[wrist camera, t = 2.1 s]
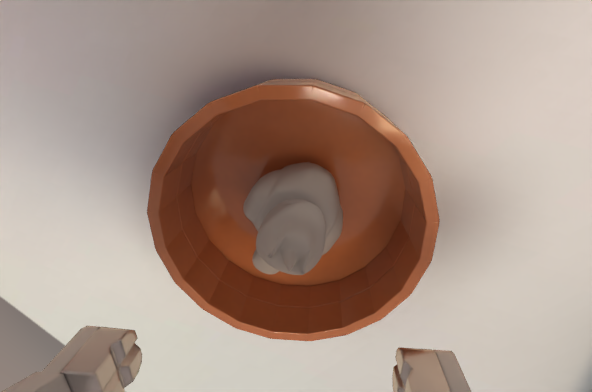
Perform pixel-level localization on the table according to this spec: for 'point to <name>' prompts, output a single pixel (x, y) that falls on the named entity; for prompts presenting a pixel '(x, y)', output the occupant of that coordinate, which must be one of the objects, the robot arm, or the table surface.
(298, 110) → the terracotta dish
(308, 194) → the grey rounded lumpy piece
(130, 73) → the table surface
